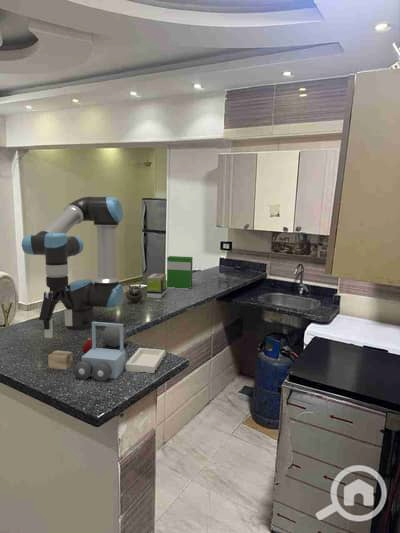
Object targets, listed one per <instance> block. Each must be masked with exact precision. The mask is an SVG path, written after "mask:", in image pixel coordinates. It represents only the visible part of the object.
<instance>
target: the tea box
mask: <svg viewBox="0 0 400 533" xmlns="http://www.w3.org/2000/svg"><path fill="white" fill-rule="evenodd" d="M165 293H166V294H167V273H151V274H150V275H148V276H147V277H146V298H147V297H151V298H161V299H162V298H163V297H164V296H165V295H166V294H165ZM164 294H165V295H164ZM163 295H164V296H163ZM162 296H163V297H162Z"/></svg>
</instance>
